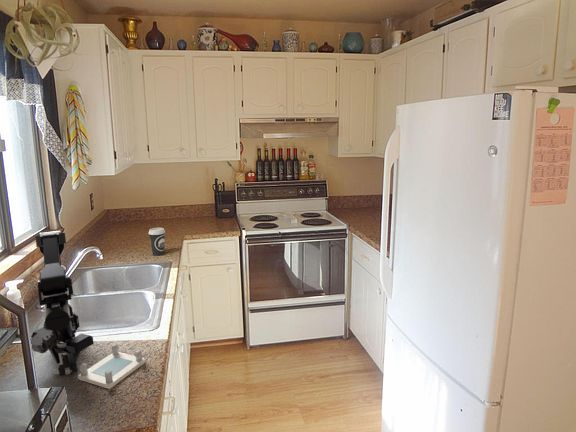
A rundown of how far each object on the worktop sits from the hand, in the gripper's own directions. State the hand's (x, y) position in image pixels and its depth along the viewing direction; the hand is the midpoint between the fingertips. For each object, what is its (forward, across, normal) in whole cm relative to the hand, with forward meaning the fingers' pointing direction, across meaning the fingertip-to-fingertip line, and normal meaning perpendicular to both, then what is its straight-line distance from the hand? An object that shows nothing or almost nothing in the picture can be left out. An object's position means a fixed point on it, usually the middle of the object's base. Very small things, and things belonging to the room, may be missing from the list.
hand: (65, 364), depth 117 cm
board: (+3, +12, +6) cm, 13 cm away
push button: (+3, 0, 0) cm, 3 cm away
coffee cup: (+2, -53, +103) cm, 116 cm away
